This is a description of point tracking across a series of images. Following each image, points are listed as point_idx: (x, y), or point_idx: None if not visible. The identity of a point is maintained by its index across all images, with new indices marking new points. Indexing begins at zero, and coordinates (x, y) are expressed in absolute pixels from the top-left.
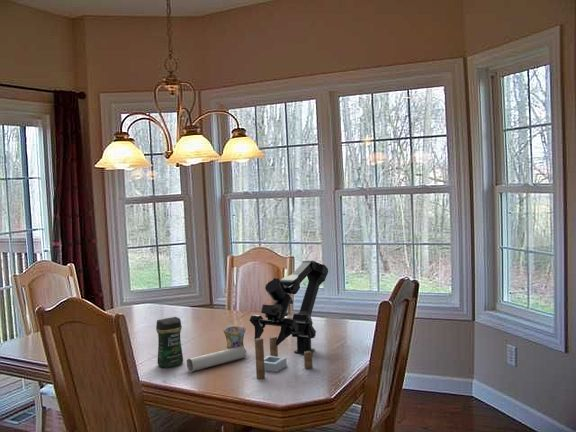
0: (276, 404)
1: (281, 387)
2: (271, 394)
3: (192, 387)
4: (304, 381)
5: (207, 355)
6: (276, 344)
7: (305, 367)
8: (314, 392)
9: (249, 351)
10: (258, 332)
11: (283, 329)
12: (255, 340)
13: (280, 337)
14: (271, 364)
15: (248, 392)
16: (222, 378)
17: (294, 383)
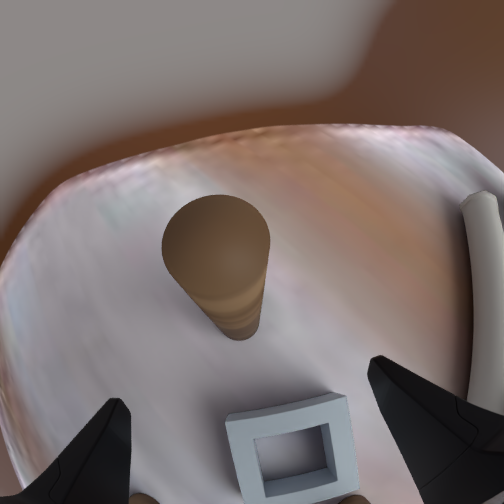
0: (70, 181)
1: (100, 280)
2: (103, 216)
3: (357, 137)
4: (66, 371)
5: (500, 254)
6: (115, 398)
7: (144, 497)
8: (16, 298)
9: None
10: (430, 437)
11: (18, 500)
12: (229, 196)
13: (69, 446)
14: (251, 417)
15: (177, 186)
16: (362, 225)
17: (82, 337)
